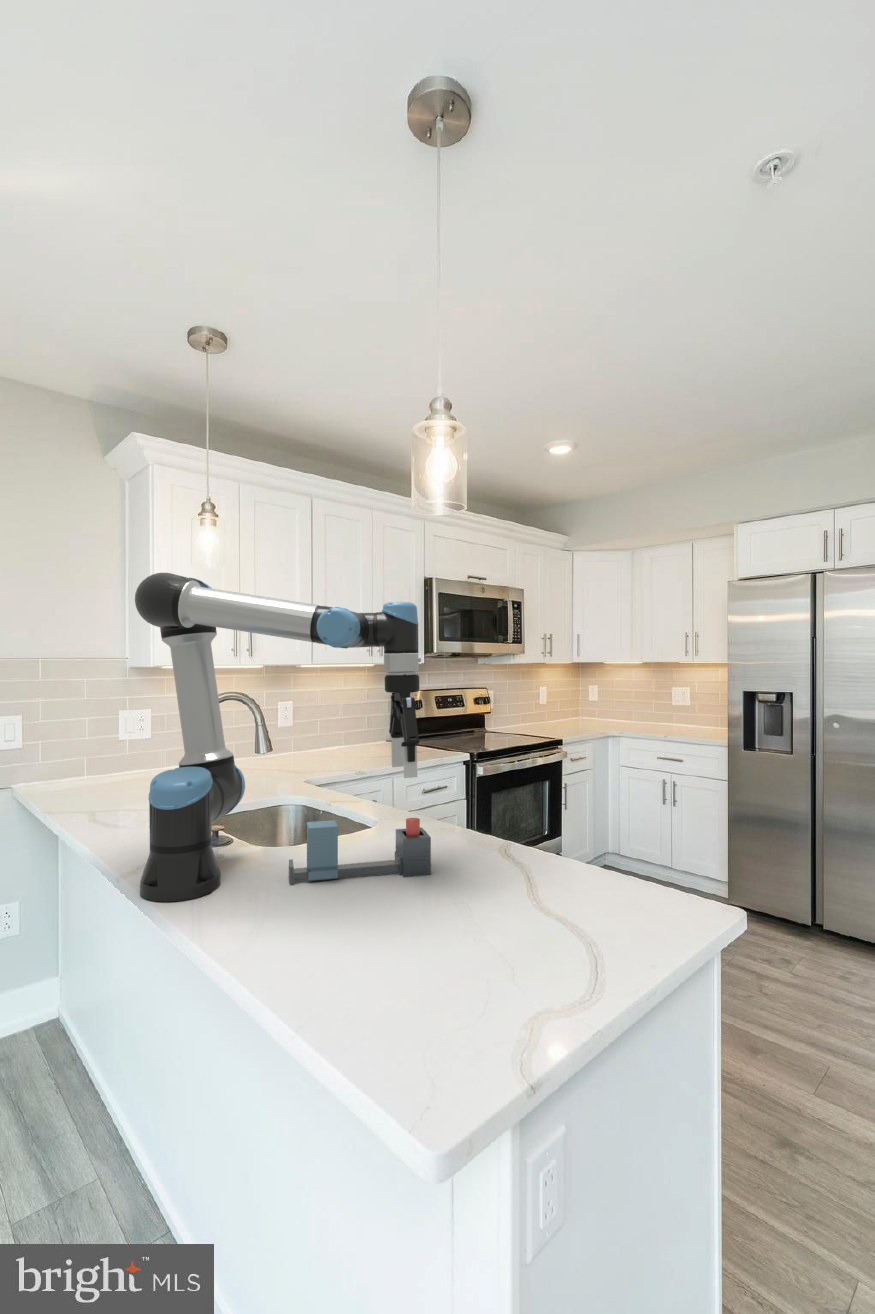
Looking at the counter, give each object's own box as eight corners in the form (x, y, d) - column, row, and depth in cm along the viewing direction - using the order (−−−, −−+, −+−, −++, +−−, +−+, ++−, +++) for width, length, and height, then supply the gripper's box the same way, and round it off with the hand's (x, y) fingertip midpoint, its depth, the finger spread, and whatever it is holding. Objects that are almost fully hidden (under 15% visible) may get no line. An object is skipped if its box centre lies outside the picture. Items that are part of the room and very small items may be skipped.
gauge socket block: (403, 877, 135) (403, 839, 135) (395, 865, 143) (395, 829, 143) (430, 874, 137) (430, 837, 137) (421, 862, 145) (421, 827, 145)
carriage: (308, 880, 132) (308, 828, 132) (306, 872, 136) (306, 822, 136) (337, 878, 133) (337, 826, 133) (335, 870, 138) (335, 820, 138)
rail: (289, 885, 131) (289, 867, 131) (288, 876, 135) (288, 859, 135) (403, 874, 137) (403, 857, 137) (398, 867, 142) (398, 850, 142)
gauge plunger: (407, 849, 138) (407, 821, 138) (404, 845, 141) (404, 818, 141) (421, 848, 139) (421, 820, 139) (417, 844, 142) (417, 817, 142)
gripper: (432, 674, 128) (435, 781, 128) (407, 672, 152) (409, 761, 152) (395, 675, 126) (397, 783, 126) (375, 673, 150) (377, 763, 150)
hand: (404, 771), depth 139 cm, fingers open, 13 cm apart
